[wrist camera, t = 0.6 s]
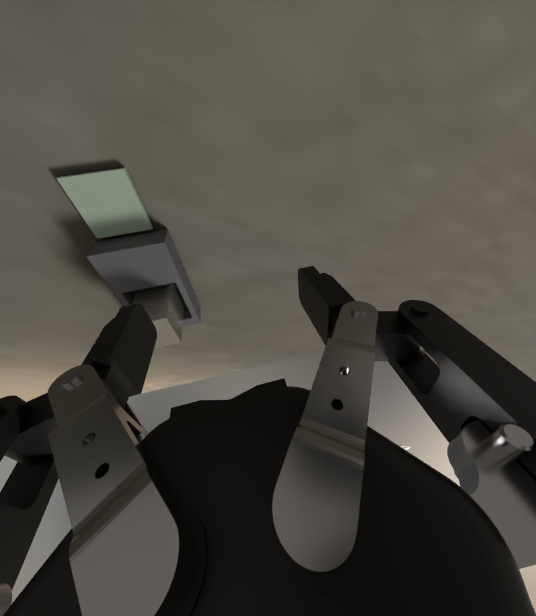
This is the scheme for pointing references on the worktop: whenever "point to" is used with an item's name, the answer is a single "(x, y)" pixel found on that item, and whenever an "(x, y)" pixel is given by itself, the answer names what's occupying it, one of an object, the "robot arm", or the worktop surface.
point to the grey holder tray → (143, 268)
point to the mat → (107, 202)
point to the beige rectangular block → (163, 311)
